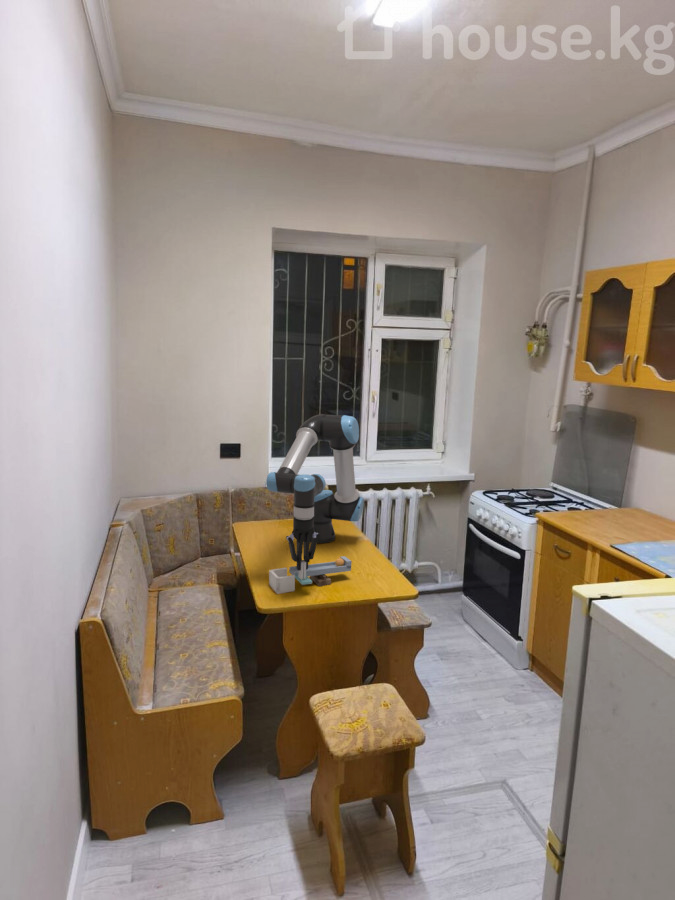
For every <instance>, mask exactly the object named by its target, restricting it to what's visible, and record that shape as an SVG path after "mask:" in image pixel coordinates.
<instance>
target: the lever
mask: <svg viewBox="0 0 675 900" xmlns="http://www.w3.org/2000/svg"><path fill="white" fill-rule="evenodd" d="M339 558H341V559H343V561H344V565H343V566H338V567H337V566H336V564H335V561H329V562H320V563H319V562H318V563H311V564H308V569H306V579H302V580H301V579H300V578H299V577H298V573H299V571H298V570H297V568H296V567H297V565H293V566H289V571H288V572H289V574H290V575H295V580H297V581H298V582H299V583H300V584H301V586H305V585H310V584H311V585H312V584H313V580H312V579H311V578H310V576H314V575H322V574H325V575H328V574H337V573H343V572H344V573H345V572H351V571H352V560H350V559H349V558H348V557H347V556H346V555H345V556H339Z"/></svg>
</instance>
